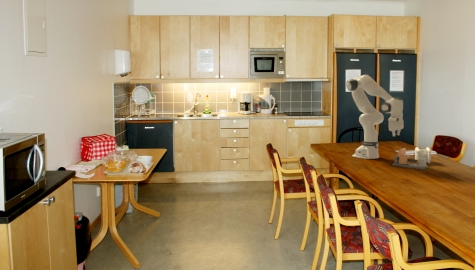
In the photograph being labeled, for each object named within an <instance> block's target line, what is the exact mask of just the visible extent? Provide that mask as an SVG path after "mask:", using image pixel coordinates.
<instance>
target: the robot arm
mask: <svg viewBox="0 0 475 270" xmlns="http://www.w3.org/2000/svg"><path fill="white" fill-rule="evenodd" d="M345 83H346V85H345V87H346V89H347V90H348V91H350V92H351V96H352V99H353V101H354V104H355V105H356V107H357V109H358V110H359V112H361V113H362V114H360V116H359V117H358V122H359V123H360V125H361V126H362V129H363V134H364V137H363V138H364V139H363V141H361V145H360V146H359V147H358V148H356V149H355V152H354V154H352V156H351V157H354V158H358V159H363V160H364V159H365V160H370V159H373V160H374V159H379V158H380V156H379V155H380V154H379V141H378V139H379V137H378V136H379V132H378V130H376V128H375V126H376V125H377V126H378V125H380V124H382V123H383V121H384V119H385V117H384V114H390V117H389V118H388V119H387V121H388V131H389V132H391V133H392V134H391V135H392V137H396V135H397V136H400V135H401V134H400V133H401V131H402V129H404V119H403V117H404V114H403V112H404V111H403V110H404V100H403V98H401V97H398V96H397V97H393V95H391V93H390V92H388V91H387V90H386V89H385V88H383V87H382V86H381V85H379V84H378V83H377V82H376V80H374V79H373V78H372V77H371V76H369V74H363V75H360V76H356V77H353V78H349V79H348V80H347V81H346V82H345ZM365 92H366V93H365ZM367 94H368V95H369V96H372V97H373V96H374V97H378V98H382V99H383V100H384V101H382V102H381V105H380V109H381V112H380V111H378V110H377V109H376V108H375V106H373V104H372V103H371V102H370V99H369V98H368V96H367ZM383 113H384V114H383ZM396 131H397V132H396Z"/></svg>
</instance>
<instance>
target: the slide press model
mask: <svg viewBox="0 0 475 270" xmlns="http://www.w3.org/2000/svg"><path fill="white" fill-rule="evenodd" d="M408 161H410V163H409V164H401V163H399V156H398V154H397V155H395V156H394V161H393V163H392V166H393V167H401V168H408V169H415V168H416V169H417V170H422V169H423V170H425V169H428V168H429V164H428V165H427V161H426V159H425V158H420V159H417V160H416V159H415V158H410V159H408ZM412 162H414V163H412ZM416 169H415V170H416Z"/></svg>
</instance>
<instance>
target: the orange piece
mask: <svg viewBox="0 0 475 270" xmlns="http://www.w3.org/2000/svg"><path fill="white" fill-rule="evenodd" d="M406 150H407V149H406V147H403V148H400V149H398V150H397V155H398V156H399V163H401V164H409V163H411V161H408V159H411V155H408V154H407V152H406Z"/></svg>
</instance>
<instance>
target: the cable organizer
mask: <svg viewBox="0 0 475 270" xmlns="http://www.w3.org/2000/svg"><path fill="white" fill-rule="evenodd" d="M431 155H432V149H431V148H430V147H426V148H425V149H421V148H419V147H418V146H417V147H415V148H414V159H416V160H417V159H420V158H425V159H426V163H427V164H428V165H430V164H431V160H432V159H431Z"/></svg>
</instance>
